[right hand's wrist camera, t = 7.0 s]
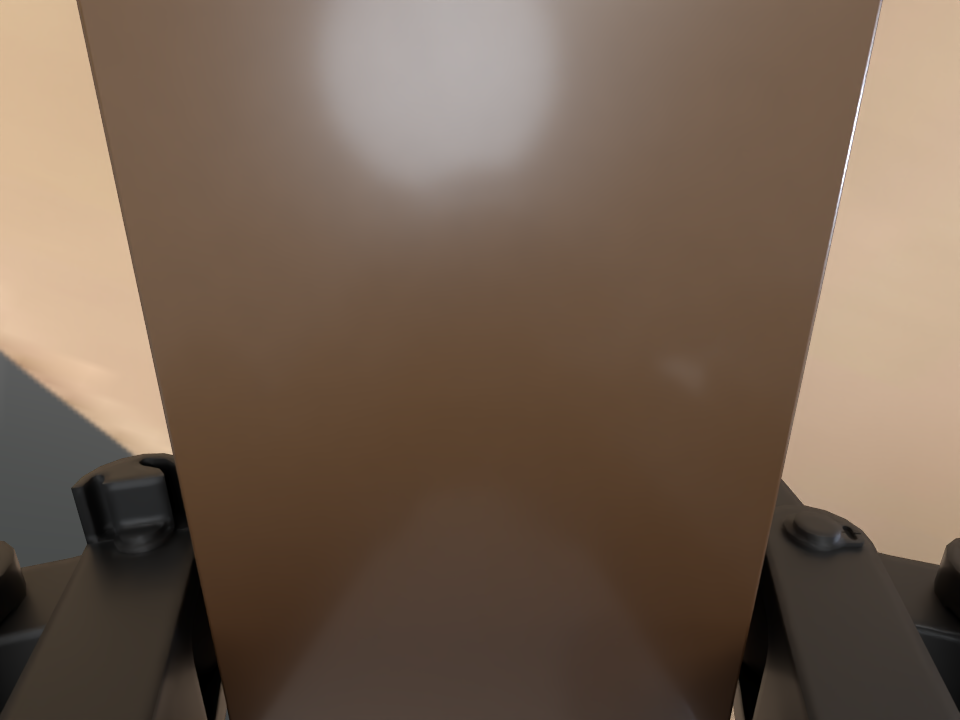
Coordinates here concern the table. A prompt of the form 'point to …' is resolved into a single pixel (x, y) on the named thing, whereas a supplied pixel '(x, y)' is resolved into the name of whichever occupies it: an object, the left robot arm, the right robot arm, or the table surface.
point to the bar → (479, 331)
